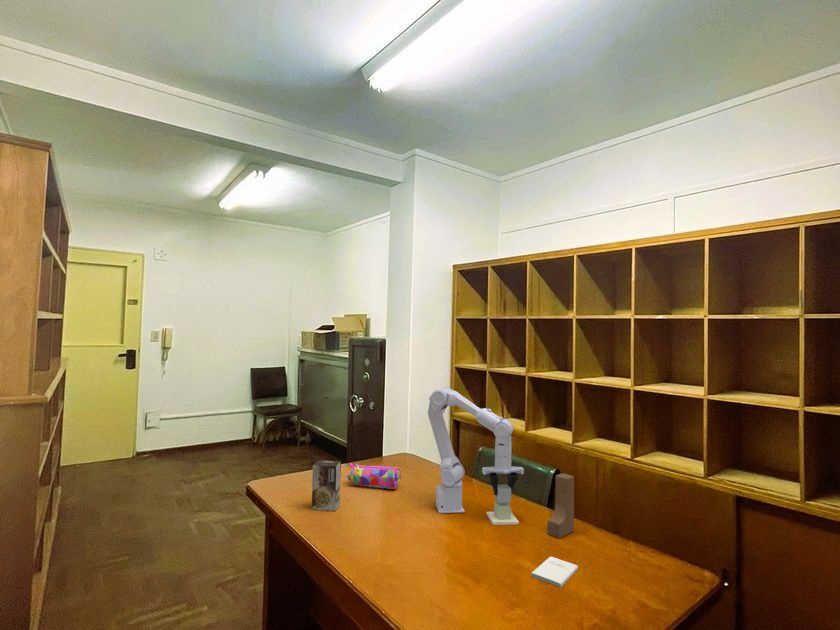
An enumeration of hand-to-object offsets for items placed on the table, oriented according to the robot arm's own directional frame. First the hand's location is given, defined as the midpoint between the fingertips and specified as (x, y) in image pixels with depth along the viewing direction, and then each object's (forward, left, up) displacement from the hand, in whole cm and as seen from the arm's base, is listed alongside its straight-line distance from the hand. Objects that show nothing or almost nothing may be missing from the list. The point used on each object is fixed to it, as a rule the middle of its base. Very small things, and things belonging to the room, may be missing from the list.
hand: (502, 494), depth 157 cm
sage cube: (0, 0, -8) cm, 8 cm away
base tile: (0, 0, -9) cm, 9 cm away
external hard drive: (+4, -36, -9) cm, 37 cm away
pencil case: (-44, +36, -9) cm, 58 cm away
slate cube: (0, 0, -2) cm, 2 cm away
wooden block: (+16, -12, -9) cm, 22 cm away
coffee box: (-62, +14, -9) cm, 64 cm away
